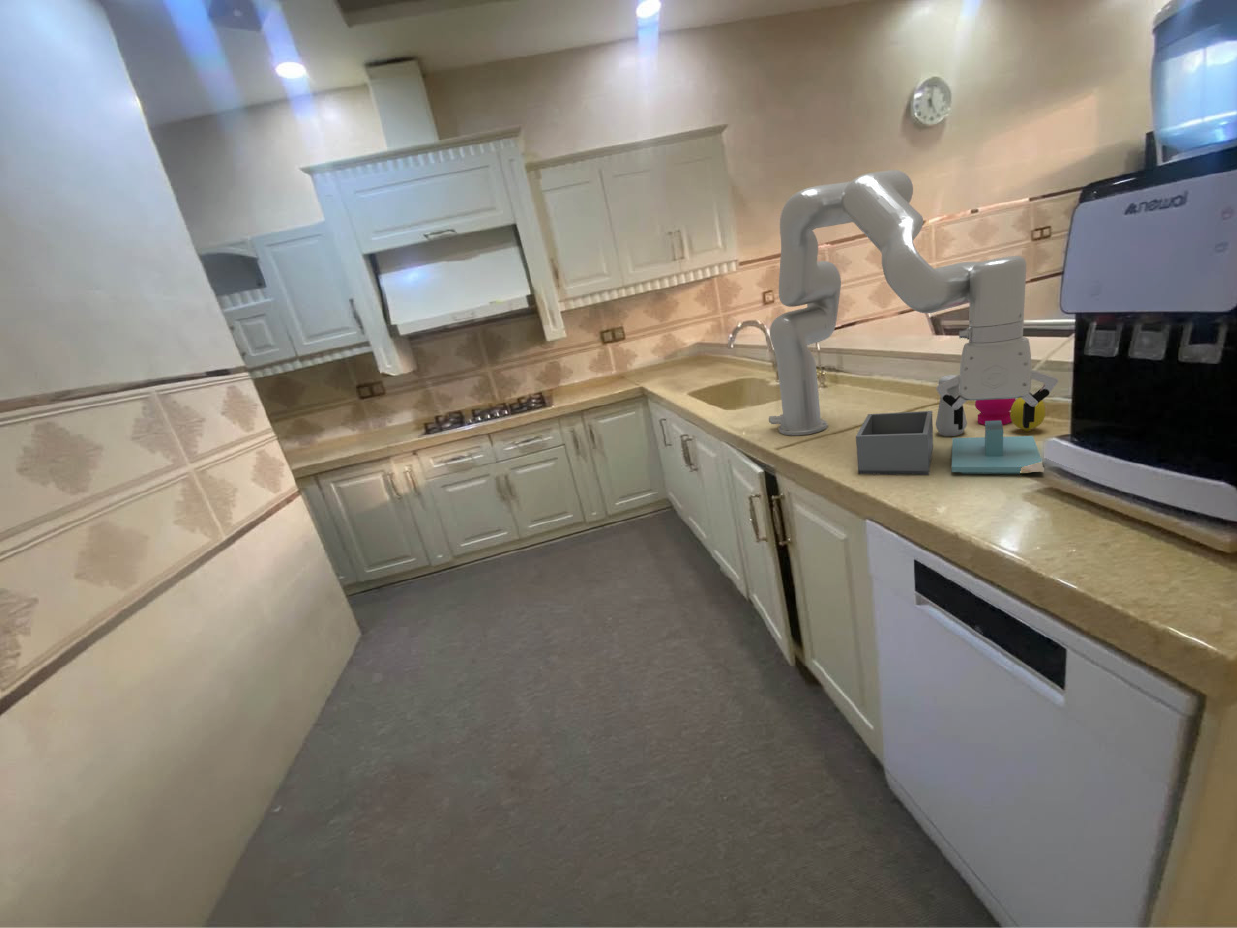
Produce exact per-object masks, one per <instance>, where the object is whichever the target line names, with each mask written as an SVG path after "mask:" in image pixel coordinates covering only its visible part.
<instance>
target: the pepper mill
mask: <svg viewBox="0 0 1237 928" xmlns="http://www.w3.org/2000/svg"><path fill="white" fill-rule="evenodd" d="M1016 400H1017V398H1012V399H993V400H974V401H975V403H974V405H975V406H974V407H975V409H976V410H978V412H979V413H978V414H977V423H978V424H980V425H981V426H982V425H983V426H985V421H999V420H1001V422H1002V426H1003V425H1008V424H1010V423H1012V420H1011V417H1010V411H1011V407H1012V405H1013V403H1014V402H1015V401H1016Z"/></svg>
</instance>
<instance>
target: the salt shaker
mask: <svg viewBox="0 0 1237 928" xmlns="http://www.w3.org/2000/svg"><path fill="white" fill-rule="evenodd" d="M958 375H959V374H958ZM958 375H955V374H950V375H945V376H942V377H940V378H939V379H938V385H940V384H942V383H944V382H946V381H948V380H950V379H952V378H954V377H956V376H958ZM947 391H948V393H949V394H950V395H951V396H953V397H954V398H955V399H956V398H957V397H958V396H959V395H960V394H959V384H957V385H955V386H953V387H951V388H949V389H947ZM962 406H963V429H961V430H958V424H954V409H953V408H952V407H951V406H950V405H948V404H947V403H946V402H944V401H943V399H942V397H941V396H940V398H939V404H938V409H937V414H936V420H935V428H936V429H937V431H938V433H939V435H940V436H943V437H959V436H961V435H962V434H963V433H964V432H965V429H966V428H967V424H968V421H967V418H966V412H965V409H964V404H963V405H962Z"/></svg>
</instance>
